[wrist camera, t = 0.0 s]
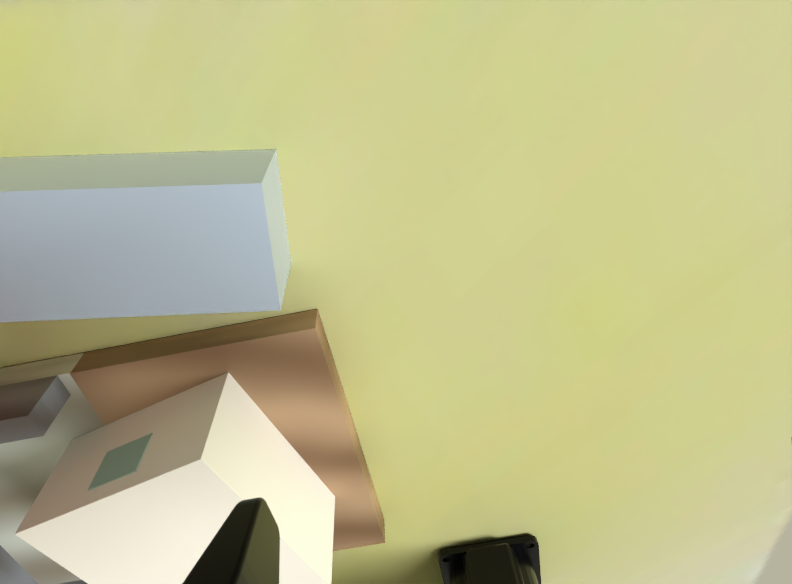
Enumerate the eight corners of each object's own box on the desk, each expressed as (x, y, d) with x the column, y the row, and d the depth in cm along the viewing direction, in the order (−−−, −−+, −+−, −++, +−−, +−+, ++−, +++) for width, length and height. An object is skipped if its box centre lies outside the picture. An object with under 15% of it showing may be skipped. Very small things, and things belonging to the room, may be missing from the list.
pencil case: (277, 147, 21) (261, 183, 17) (291, 259, 23) (280, 310, 20) (-41, 156, 20) (-121, 195, 17) (10, 270, 23) (-50, 324, 19)
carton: (335, 497, 29) (331, 587, 25) (198, 547, 31) (172, 641, 27) (227, 371, 24) (199, 458, 20) (70, 439, 26) (13, 533, 21)
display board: (384, 520, 33) (388, 611, 28) (44, 577, 34) (-6, 674, 29) (317, 308, 24) (307, 389, 20) (-132, 393, 25) (-242, 488, 21)
